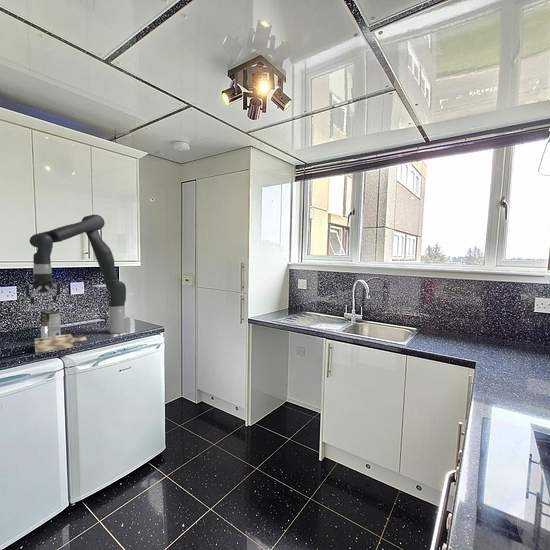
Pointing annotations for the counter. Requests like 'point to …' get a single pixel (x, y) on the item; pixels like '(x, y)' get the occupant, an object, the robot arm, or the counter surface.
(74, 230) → the robot arm
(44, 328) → the peg
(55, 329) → the coffee box
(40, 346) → the hole block
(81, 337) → the mat
